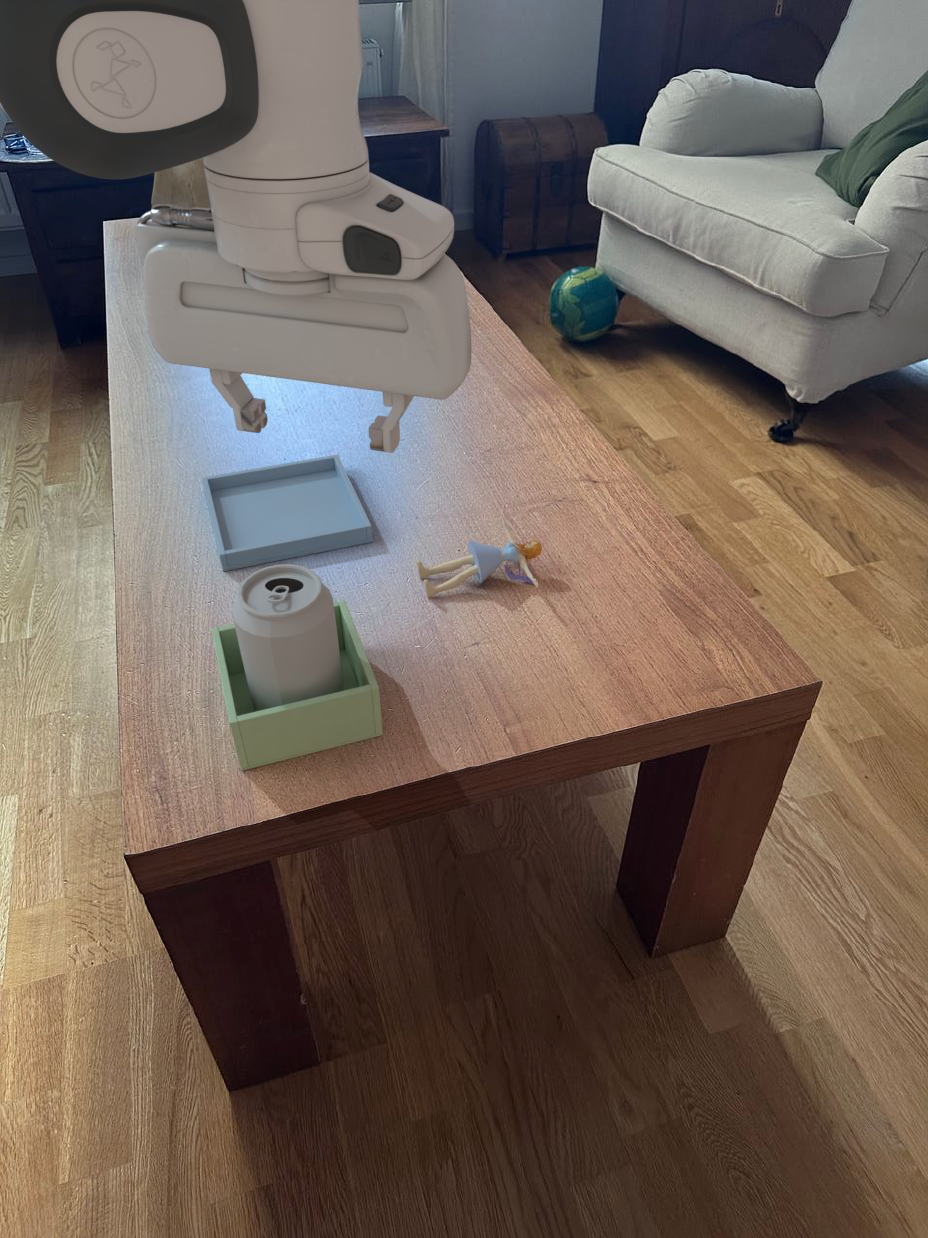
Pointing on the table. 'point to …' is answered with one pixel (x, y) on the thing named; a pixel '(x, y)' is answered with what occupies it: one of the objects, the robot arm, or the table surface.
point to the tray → (284, 512)
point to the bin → (300, 704)
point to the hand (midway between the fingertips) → (318, 437)
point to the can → (287, 636)
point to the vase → (181, 186)
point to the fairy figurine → (483, 563)
